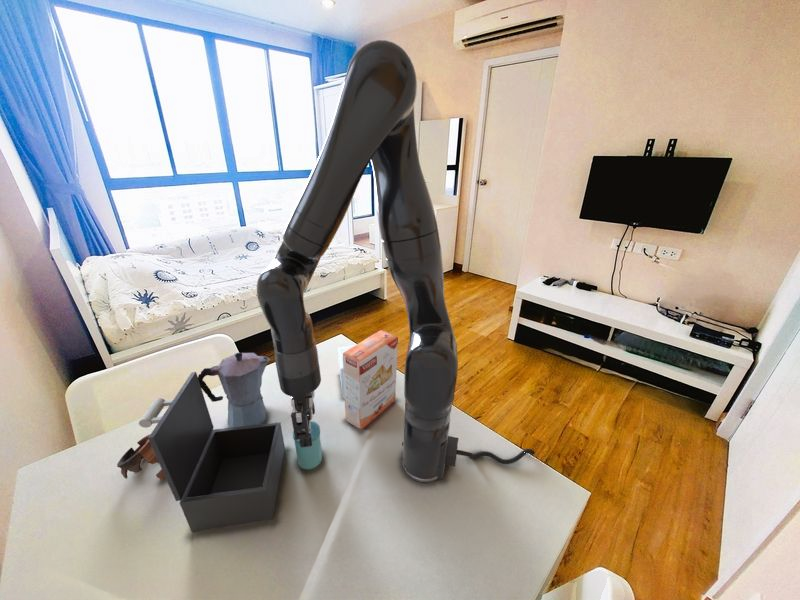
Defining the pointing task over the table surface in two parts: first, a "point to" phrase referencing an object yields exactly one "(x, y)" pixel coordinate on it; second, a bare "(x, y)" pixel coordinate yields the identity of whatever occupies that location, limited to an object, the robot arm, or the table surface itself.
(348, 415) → the cracker box
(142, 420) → the lid
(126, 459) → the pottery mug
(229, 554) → the table surface
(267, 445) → the open box
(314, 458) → the container
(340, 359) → the cosmetics box
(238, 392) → the moka pot
